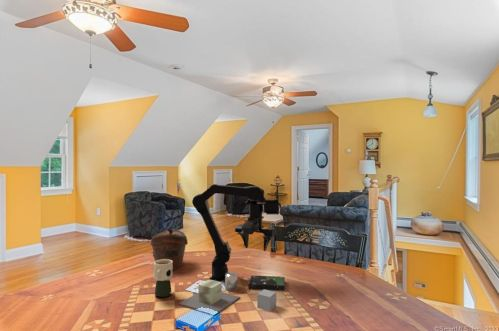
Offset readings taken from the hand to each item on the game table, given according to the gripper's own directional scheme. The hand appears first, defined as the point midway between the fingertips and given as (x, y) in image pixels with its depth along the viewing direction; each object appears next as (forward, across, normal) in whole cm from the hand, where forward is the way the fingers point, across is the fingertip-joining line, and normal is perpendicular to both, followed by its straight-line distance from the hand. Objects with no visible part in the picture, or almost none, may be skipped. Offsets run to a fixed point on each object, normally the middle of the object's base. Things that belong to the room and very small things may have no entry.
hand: (255, 249), depth 139 cm
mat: (+13, -3, -29) cm, 32 cm away
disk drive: (+14, +8, -4) cm, 16 cm away
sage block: (+12, -3, -29) cm, 32 cm away
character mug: (+13, -22, -34) cm, 43 cm away
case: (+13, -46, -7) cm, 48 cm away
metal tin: (+13, -3, -15) cm, 20 cm away
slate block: (+13, +17, -22) cm, 31 cm away
